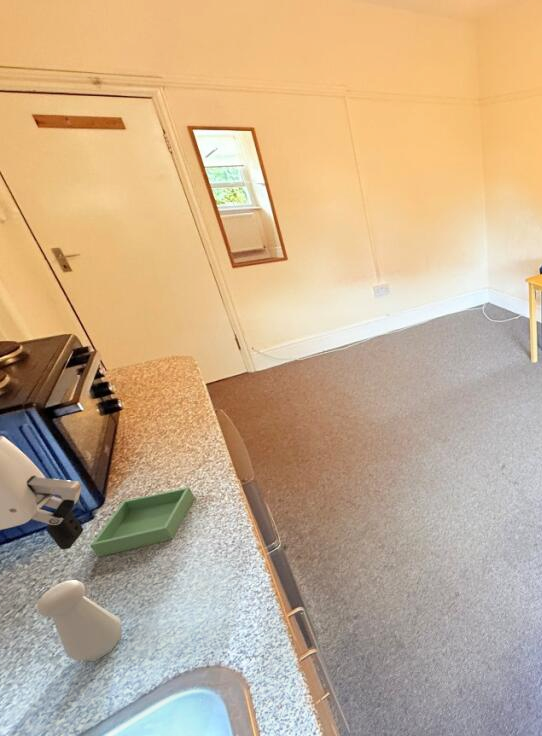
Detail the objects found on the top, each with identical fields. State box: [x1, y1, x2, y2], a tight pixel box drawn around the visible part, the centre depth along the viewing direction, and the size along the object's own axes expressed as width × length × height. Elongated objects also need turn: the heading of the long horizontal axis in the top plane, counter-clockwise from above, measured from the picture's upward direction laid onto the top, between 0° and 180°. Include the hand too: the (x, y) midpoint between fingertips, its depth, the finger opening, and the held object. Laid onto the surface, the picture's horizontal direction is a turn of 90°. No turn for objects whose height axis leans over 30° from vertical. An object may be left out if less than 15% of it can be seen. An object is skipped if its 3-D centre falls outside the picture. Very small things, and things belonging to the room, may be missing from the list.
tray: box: [89, 486, 196, 558], centre depth 79 cm, size 12×11×3 cm
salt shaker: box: [36, 579, 123, 662], centre depth 56 cm, size 6×6×13 cm
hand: (26, 551), depth 50 cm, fingers open, 9 cm apart
